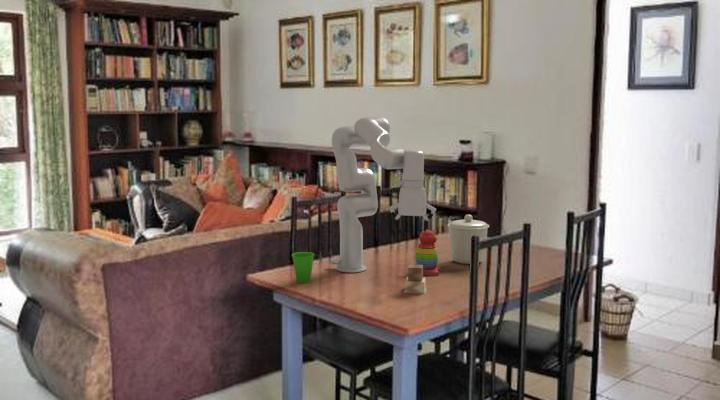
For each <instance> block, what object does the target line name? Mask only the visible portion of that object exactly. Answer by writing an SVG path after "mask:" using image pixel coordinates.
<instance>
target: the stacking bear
mask: <svg viewBox="0 0 720 400" xmlns="http://www.w3.org/2000/svg"><path fill="white" fill-rule="evenodd" d="M418 239H419V242H420V243H419V244H418V246H417V247H416V250H415V251H416V252H415V258H414V259H415V263H416V264H415V265H423V276H432V277H434V276H439V275H440V272H441V267H440V266H438V262H439V251H438V249H437V245H436V242H437V241H438V236H437V235H435V233H434V231H432V230H431V229H426V232H424V230H422V231H421V232H420V233H419V238H418Z"/></svg>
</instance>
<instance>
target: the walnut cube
mask: <svg viewBox="0 0 720 400" xmlns="http://www.w3.org/2000/svg"><path fill="white" fill-rule="evenodd" d="M407 277H408V281H421V282H422V279H423V277H424V275H423V265H416V264H408V267H407Z"/></svg>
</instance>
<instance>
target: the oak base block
mask: <svg viewBox="0 0 720 400" xmlns="http://www.w3.org/2000/svg"><path fill="white" fill-rule="evenodd" d="M426 279H427V278H426V277H425V276H423V279H422V282H421V281H408V276H407V277H406V278H405V281H404V290H405V292H411V293H410V294H423V293H424V292H425V288H427V287H426V284H427V283H426V282H427V280H426Z"/></svg>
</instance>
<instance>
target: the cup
mask: <svg viewBox="0 0 720 400" xmlns="http://www.w3.org/2000/svg"><path fill="white" fill-rule="evenodd" d="M315 255H316V254H315V253H314V252H308V251H299V252H298V251H297V252H293V253H292V254H291V256H292V262H293V268H294V273H295V278H296V279H295V280H296V283H297V284H308V283H310V282H311V278H312V270H313V265H314V264H313V263H314V257H315Z"/></svg>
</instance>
